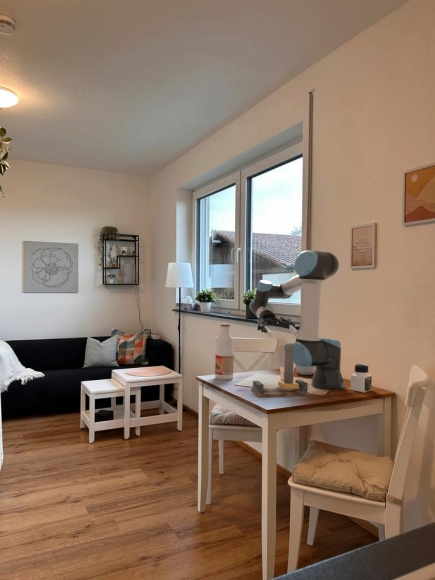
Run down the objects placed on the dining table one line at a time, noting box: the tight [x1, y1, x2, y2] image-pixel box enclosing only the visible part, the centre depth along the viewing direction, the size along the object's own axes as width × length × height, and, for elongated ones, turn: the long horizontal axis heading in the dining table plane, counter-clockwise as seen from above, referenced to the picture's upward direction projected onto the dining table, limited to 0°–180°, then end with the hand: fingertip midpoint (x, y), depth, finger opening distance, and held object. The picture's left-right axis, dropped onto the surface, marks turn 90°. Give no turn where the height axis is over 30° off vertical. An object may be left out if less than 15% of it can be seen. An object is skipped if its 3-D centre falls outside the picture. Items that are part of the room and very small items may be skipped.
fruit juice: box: [214, 323, 235, 381], centre depth 221 cm, size 9×9×28 cm
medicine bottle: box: [350, 363, 373, 394], centre depth 201 cm, size 7×7×12 cm
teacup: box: [295, 364, 316, 376], centre depth 238 cm, size 14×11×8 cm
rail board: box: [250, 378, 310, 398], centre depth 192 cm, size 23×12×5 cm, turn 103°
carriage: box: [277, 342, 299, 389], centre depth 193 cm, size 7×7×20 cm
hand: (283, 333), depth 205 cm, fingers open, 13 cm apart
